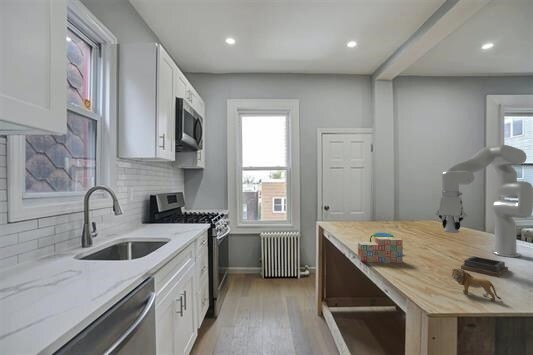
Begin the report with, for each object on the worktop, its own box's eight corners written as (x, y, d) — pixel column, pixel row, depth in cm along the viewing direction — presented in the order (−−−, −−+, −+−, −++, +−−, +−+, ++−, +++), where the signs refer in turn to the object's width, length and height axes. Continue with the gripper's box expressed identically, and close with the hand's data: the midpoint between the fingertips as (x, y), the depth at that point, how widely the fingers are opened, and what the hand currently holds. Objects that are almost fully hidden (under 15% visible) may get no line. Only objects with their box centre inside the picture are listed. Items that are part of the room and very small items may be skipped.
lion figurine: (451, 292, 105) (451, 269, 105) (452, 288, 109) (452, 265, 109) (501, 303, 96) (501, 277, 96) (501, 298, 100) (500, 273, 100)
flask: (458, 231, 148) (457, 212, 148) (461, 233, 141) (460, 214, 141) (442, 230, 151) (441, 212, 151) (444, 232, 144) (444, 213, 144)
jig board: (473, 263, 142) (472, 255, 143) (508, 270, 131) (507, 261, 131) (460, 268, 133) (460, 260, 133) (497, 276, 122) (497, 267, 122)
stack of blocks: (360, 262, 144) (360, 238, 144) (357, 258, 150) (357, 236, 150) (402, 263, 142) (402, 239, 143) (398, 259, 149) (397, 237, 149)
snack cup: (367, 250, 168) (367, 233, 168) (373, 247, 176) (373, 231, 176) (394, 255, 158) (394, 237, 158) (399, 251, 166) (399, 234, 166)
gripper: (472, 194, 141) (473, 230, 141) (436, 193, 155) (436, 225, 155) (466, 195, 137) (467, 231, 137) (430, 194, 151) (430, 227, 150)
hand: (451, 228), depth 146 cm, fingers closed on flask, 5 cm apart
